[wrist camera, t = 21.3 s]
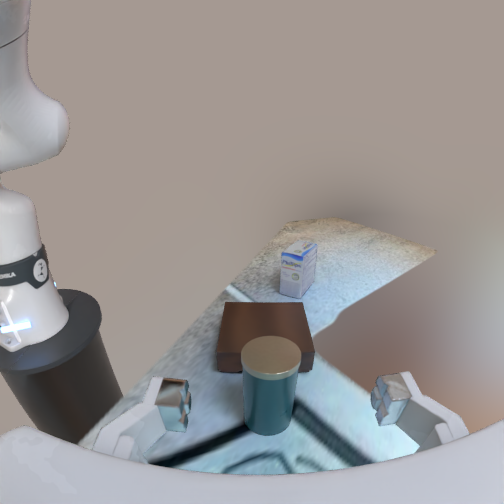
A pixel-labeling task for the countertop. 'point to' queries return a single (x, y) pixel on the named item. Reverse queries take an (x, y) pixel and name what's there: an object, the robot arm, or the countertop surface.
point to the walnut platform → (262, 331)
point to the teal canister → (269, 383)
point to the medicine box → (298, 268)
